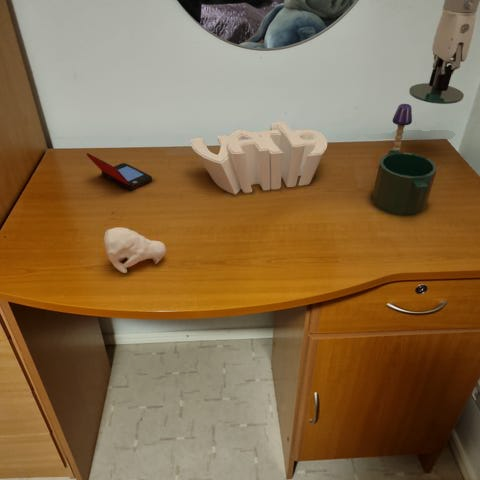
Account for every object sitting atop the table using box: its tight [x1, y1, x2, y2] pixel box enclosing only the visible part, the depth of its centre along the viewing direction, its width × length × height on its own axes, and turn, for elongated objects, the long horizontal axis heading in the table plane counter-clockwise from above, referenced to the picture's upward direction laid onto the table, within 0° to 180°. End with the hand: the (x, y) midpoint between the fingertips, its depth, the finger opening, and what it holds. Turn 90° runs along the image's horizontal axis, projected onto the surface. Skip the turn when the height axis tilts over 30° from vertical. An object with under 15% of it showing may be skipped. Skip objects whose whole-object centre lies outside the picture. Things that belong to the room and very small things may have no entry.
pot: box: [371, 149, 438, 216], centre depth 114 cm, size 13×18×10 cm
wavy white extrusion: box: [190, 121, 328, 195], centre depth 122 cm, size 35×16×11 cm, turn 102°
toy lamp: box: [392, 103, 413, 152], centre depth 123 cm, size 5×5×17 cm
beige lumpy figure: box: [103, 227, 167, 274], centre depth 96 cm, size 6×8×12 cm
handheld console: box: [86, 152, 153, 191], centre depth 122 cm, size 12×11×7 cm
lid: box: [408, 66, 465, 105], centre depth 123 cm, size 14×14×7 cm
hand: (437, 87), depth 124 cm, fingers closed on lid, 2 cm apart
